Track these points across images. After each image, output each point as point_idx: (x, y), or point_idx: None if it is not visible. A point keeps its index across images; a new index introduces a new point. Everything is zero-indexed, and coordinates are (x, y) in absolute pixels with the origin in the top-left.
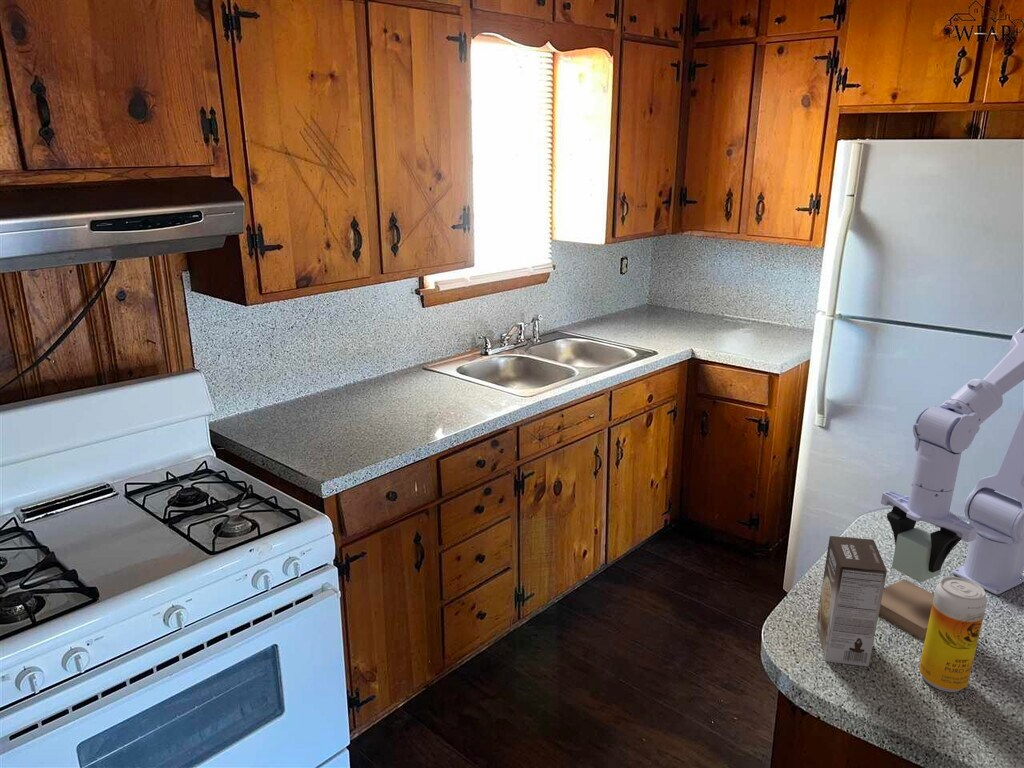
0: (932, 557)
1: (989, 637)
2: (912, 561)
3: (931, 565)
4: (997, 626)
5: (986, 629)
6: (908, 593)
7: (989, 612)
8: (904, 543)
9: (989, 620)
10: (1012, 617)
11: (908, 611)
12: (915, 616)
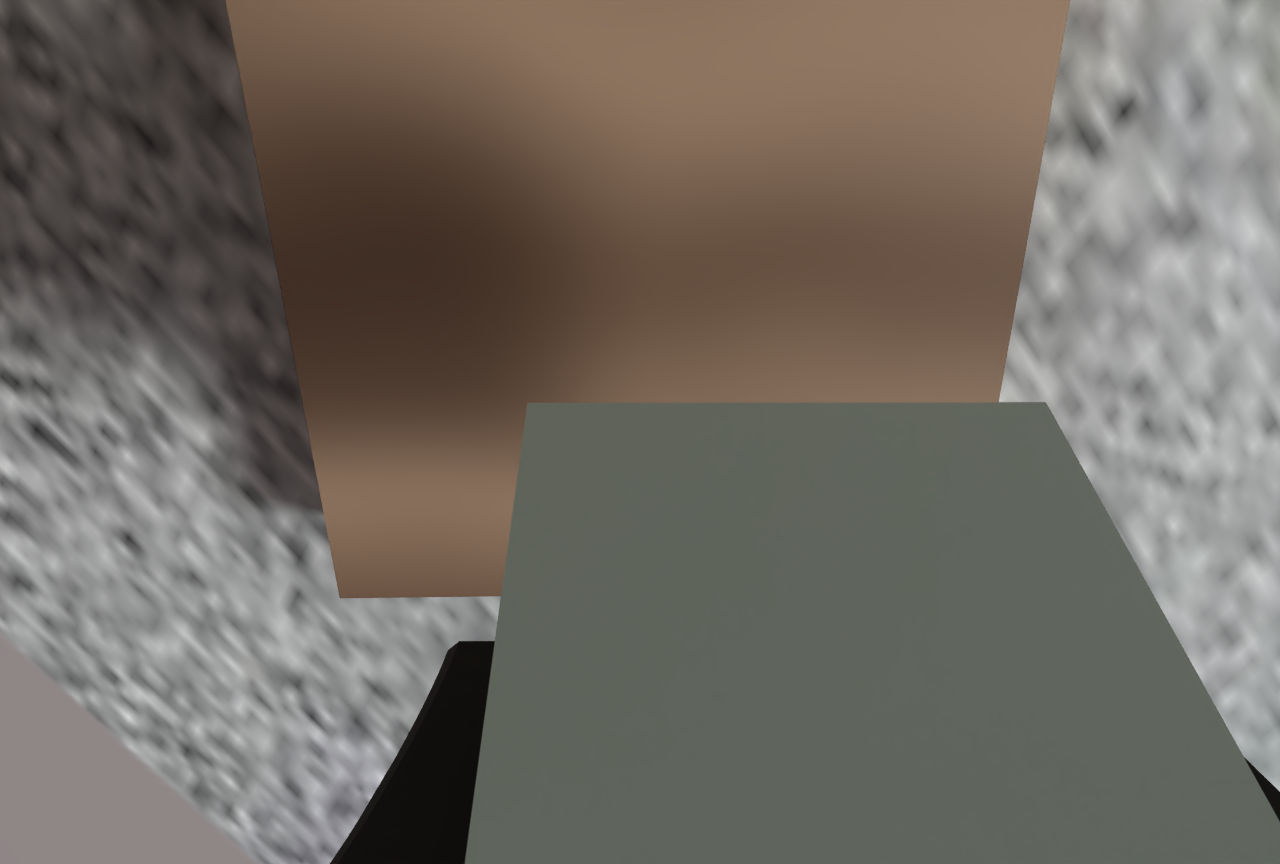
0: (422, 856)
1: (85, 508)
2: (747, 592)
3: (455, 721)
4: (189, 674)
5: (185, 580)
6: None
7: (353, 769)
8: (1068, 833)
9: (273, 691)
10: (242, 831)
11: (562, 98)
12: (453, 79)
